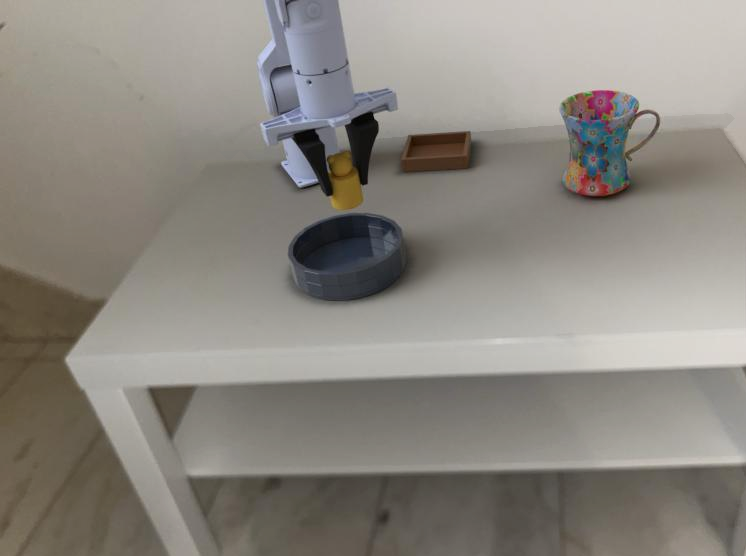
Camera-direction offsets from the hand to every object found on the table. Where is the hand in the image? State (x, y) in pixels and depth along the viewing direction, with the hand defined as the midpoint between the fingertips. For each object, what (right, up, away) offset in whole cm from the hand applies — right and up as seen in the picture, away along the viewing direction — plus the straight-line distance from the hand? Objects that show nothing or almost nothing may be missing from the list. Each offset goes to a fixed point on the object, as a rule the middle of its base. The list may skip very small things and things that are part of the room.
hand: (344, 187), depth 85 cm
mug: (+32, +3, +13) cm, 35 cm away
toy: (0, -1, +1) cm, 2 cm away
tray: (+11, +9, +25) cm, 28 cm away
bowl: (0, -9, +4) cm, 10 cm away
